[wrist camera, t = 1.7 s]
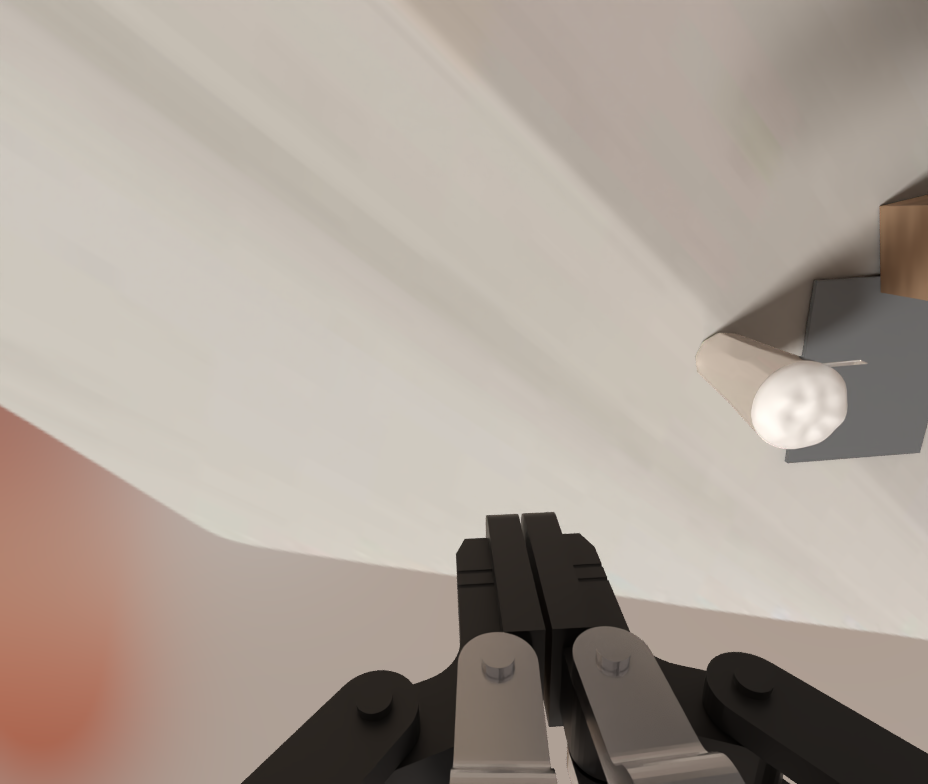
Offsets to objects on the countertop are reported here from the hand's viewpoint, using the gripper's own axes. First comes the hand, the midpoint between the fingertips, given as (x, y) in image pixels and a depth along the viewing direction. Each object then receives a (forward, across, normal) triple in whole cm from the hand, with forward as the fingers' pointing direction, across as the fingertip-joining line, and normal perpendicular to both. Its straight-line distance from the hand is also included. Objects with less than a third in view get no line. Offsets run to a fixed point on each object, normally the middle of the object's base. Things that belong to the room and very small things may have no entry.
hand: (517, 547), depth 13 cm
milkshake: (+22, -16, +3) cm, 27 cm away
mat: (+22, -25, +4) cm, 34 cm away
